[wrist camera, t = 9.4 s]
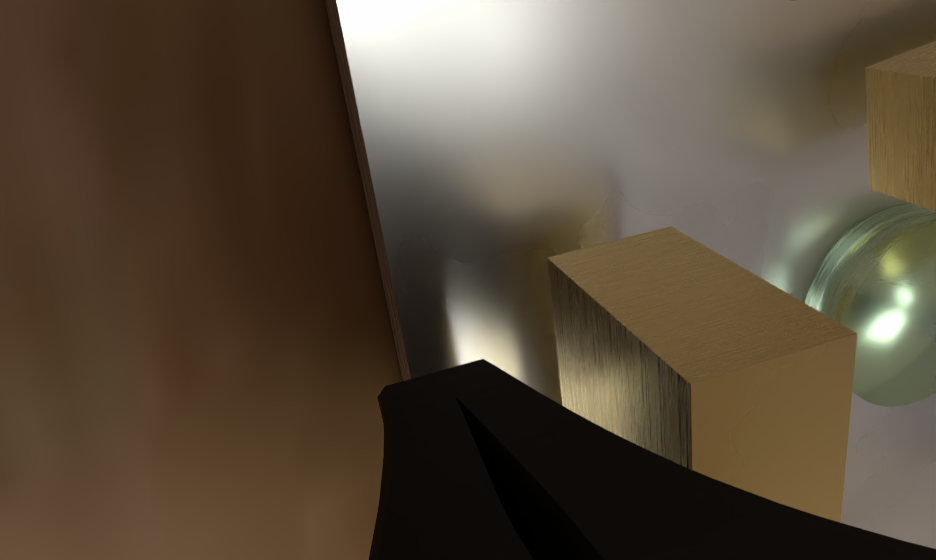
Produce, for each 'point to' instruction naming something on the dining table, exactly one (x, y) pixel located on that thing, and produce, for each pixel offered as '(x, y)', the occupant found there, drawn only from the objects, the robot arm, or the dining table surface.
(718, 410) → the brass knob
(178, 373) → the dining table surface
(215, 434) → the dining table surface
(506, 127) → the levelling plate
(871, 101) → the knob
